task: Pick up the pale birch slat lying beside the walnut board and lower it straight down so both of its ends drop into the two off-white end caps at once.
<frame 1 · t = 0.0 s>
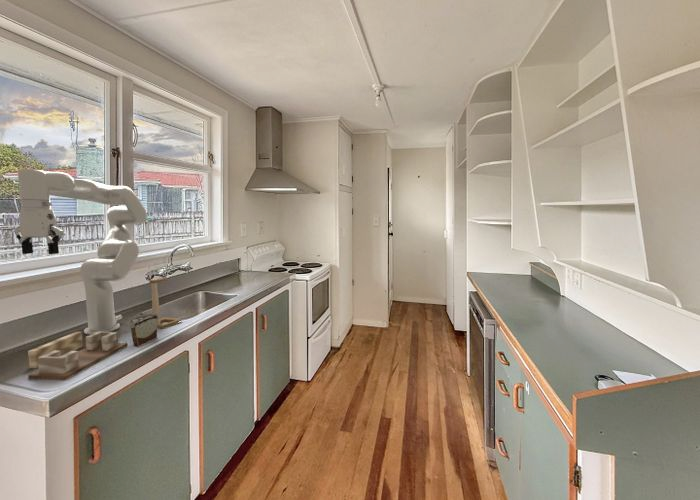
hand: (40, 253, 116), 37 cm above the counter, tool pointing down, fingers open, 9 cm apart
slat: (58, 356, 117), on the counter
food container: (141, 342, 131), on the counter
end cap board: (83, 360, 113), on the counter
headphone stand: (164, 325, 151), on the counter
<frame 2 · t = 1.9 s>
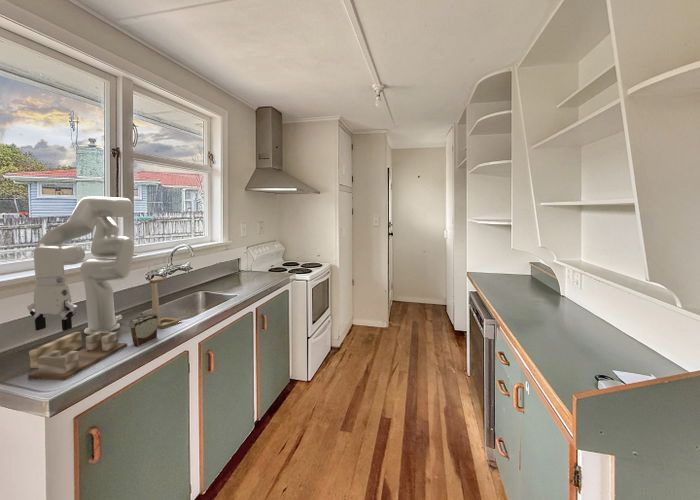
hand: (54, 329, 115), 10 cm above the counter, tool pointing down, fingers open, 9 cm apart
nothing on the counter moved.
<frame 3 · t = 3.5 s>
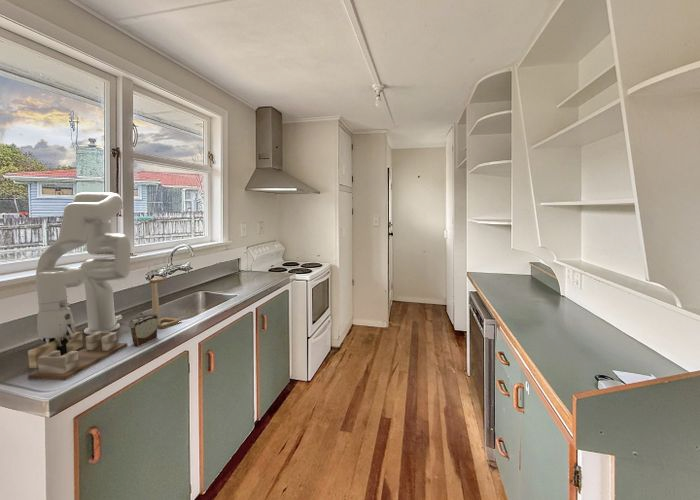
hand: (58, 355, 117), 0 cm above the counter, tool pointing down, fingers closed on slat, 2 cm apart
slat: (58, 356, 117), on the counter, touching gripper
everything else where it was.
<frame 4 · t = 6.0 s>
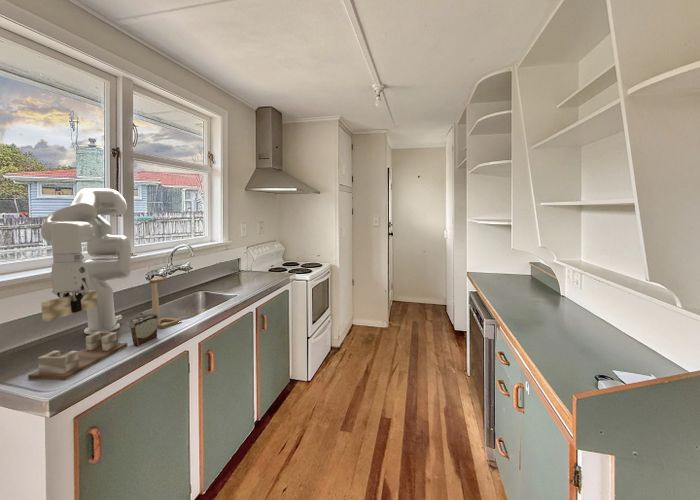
hand: (72, 311, 112), 18 cm above the counter, tool pointing down, fingers closed on slat, 2 cm apart
slat: (72, 313, 112), point 17 cm above the counter, touching gripper
everything else where it was.
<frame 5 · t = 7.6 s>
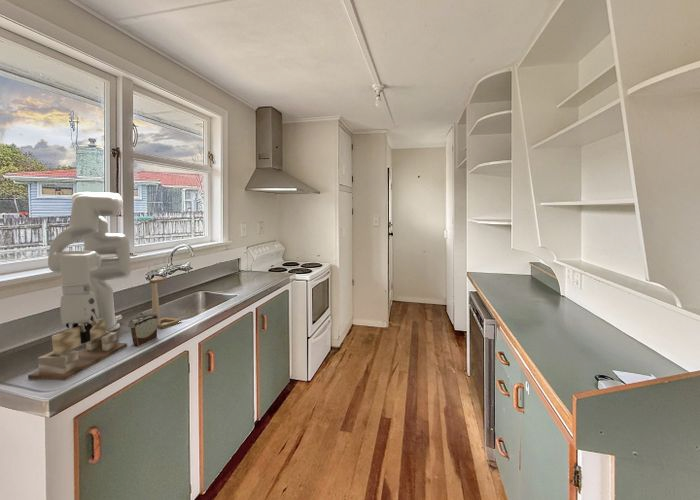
hand: (81, 341, 113), 7 cm above the counter, tool pointing down, fingers closed on slat, 2 cm apart
slat: (81, 343, 113), point 6 cm above the counter, touching gripper
everything else where it was.
when the fingers open (3 cm above the counter, at t = 8.7 s): slat stays where it is, resting on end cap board.
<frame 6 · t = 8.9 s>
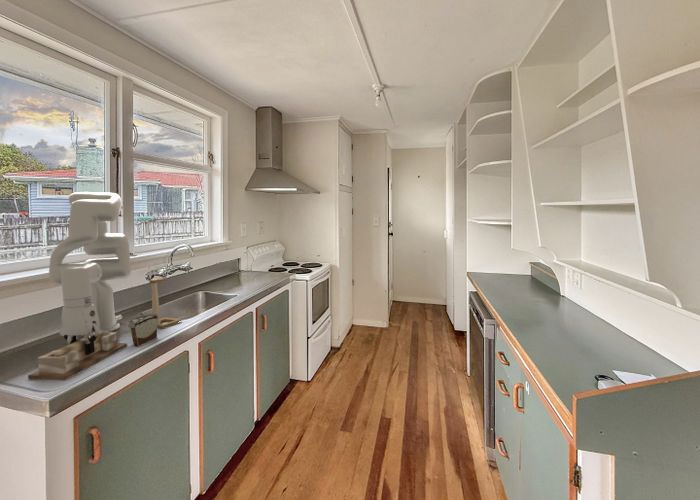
hand: (82, 352, 113), 3 cm above the counter, tool pointing down, fingers open, 4 cm apart
slat: (82, 357, 113), point 1 cm above the counter, touching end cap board
everything else where it was.
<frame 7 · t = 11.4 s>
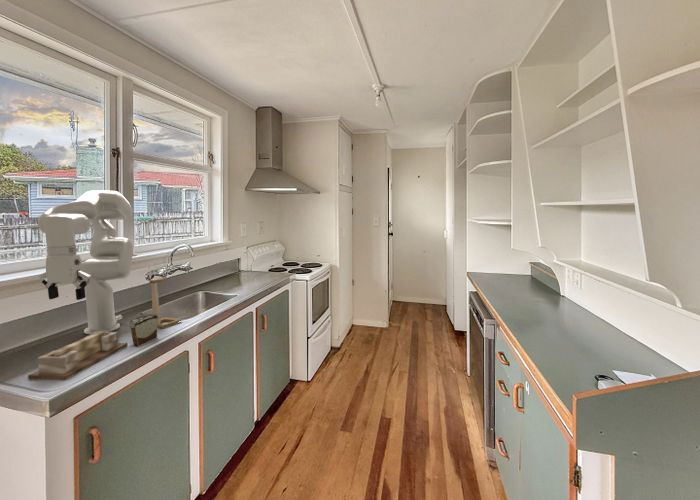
hand: (67, 298, 116), 21 cm above the counter, tool pointing down, fingers open, 9 cm apart
nothing on the counter moved.
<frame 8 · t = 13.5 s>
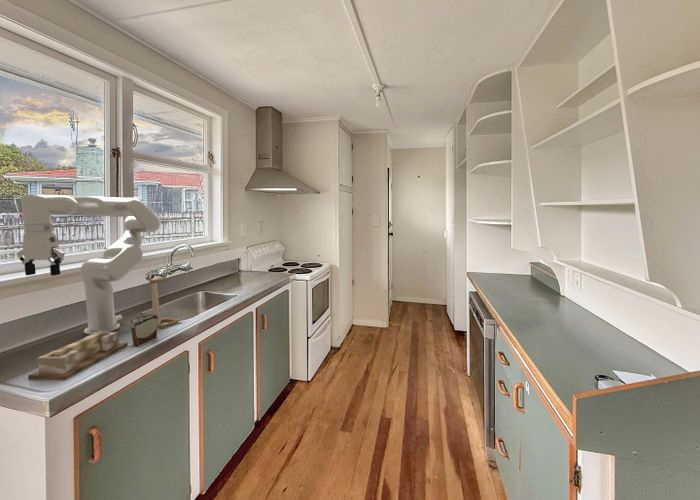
hand: (43, 274, 121), 28 cm above the counter, tool pointing down, fingers open, 9 cm apart
nothing on the counter moved.
at the end: slat 0.1 cm off-centre on the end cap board, point 1.2 cm above the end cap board's base; slat tilted 0°; the gripper is holding nothing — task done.
